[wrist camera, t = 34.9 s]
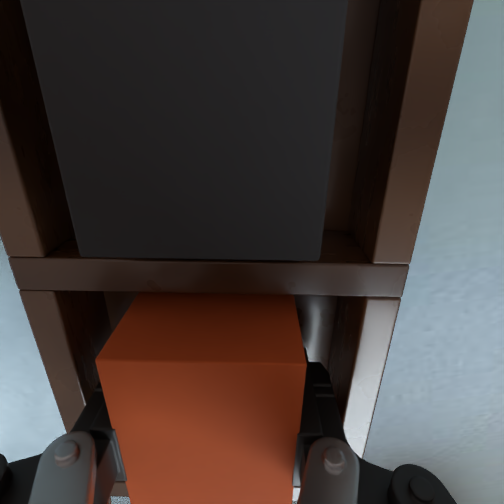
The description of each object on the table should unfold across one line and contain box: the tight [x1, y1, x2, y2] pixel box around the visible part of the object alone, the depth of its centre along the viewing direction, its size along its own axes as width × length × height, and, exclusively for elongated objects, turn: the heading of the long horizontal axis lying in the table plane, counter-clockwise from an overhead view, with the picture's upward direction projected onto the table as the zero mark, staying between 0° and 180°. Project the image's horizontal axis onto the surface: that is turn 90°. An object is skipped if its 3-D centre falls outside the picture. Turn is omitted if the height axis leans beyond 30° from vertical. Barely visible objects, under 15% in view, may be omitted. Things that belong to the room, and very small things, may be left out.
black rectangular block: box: [20, 0, 348, 261], centre depth 7 cm, size 7×5×4 cm
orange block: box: [95, 292, 307, 504], centre depth 11 cm, size 7×5×4 cm
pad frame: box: [0, 0, 474, 501], centre depth 10 cm, size 20×10×3 cm, turn 179°
